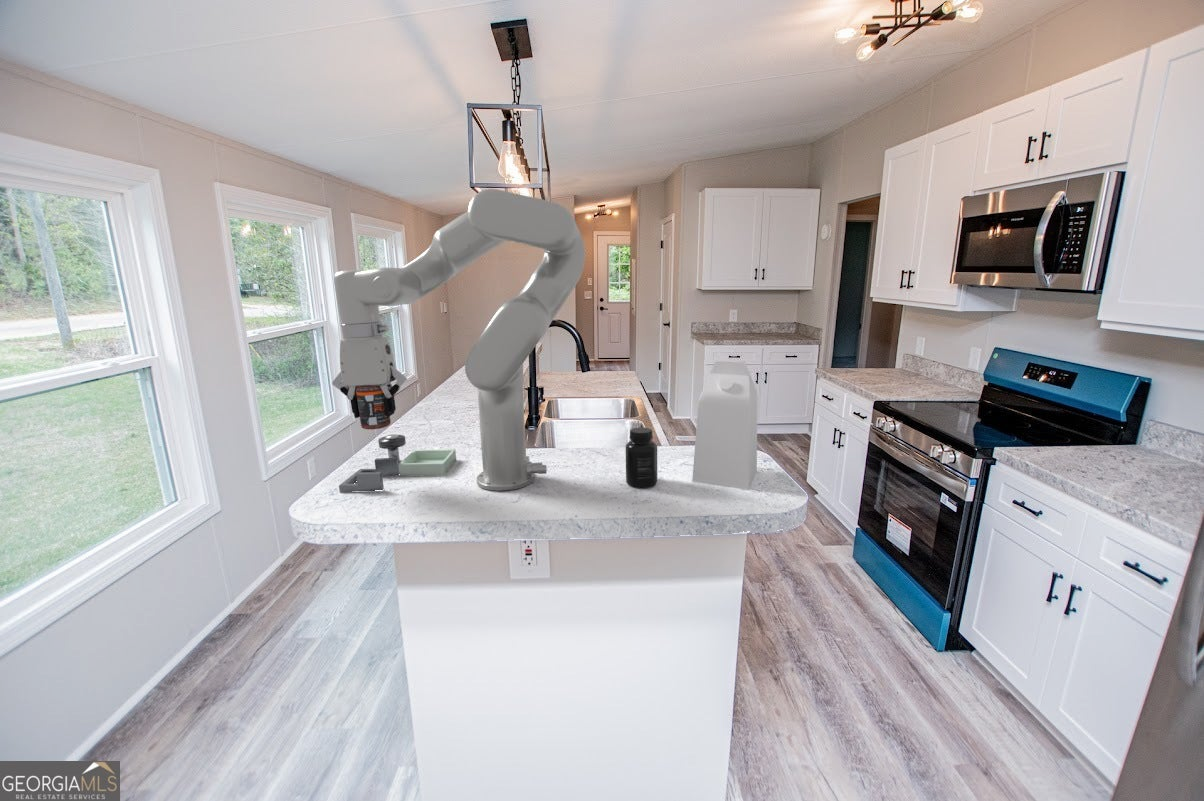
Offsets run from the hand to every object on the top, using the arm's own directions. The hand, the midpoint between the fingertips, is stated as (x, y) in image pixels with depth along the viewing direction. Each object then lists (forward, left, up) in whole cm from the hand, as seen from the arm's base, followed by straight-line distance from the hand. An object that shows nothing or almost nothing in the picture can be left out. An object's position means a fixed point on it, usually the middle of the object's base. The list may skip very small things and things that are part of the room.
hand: (374, 414), depth 109 cm
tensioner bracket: (+3, 0, -16) cm, 16 cm away
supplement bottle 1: (0, 0, -3) cm, 3 cm away
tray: (-7, -9, -16) cm, 19 cm away
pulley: (+2, -11, -16) cm, 19 cm away
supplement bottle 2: (-57, +3, -16) cm, 60 cm away
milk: (-76, 0, -16) cm, 78 cm away
